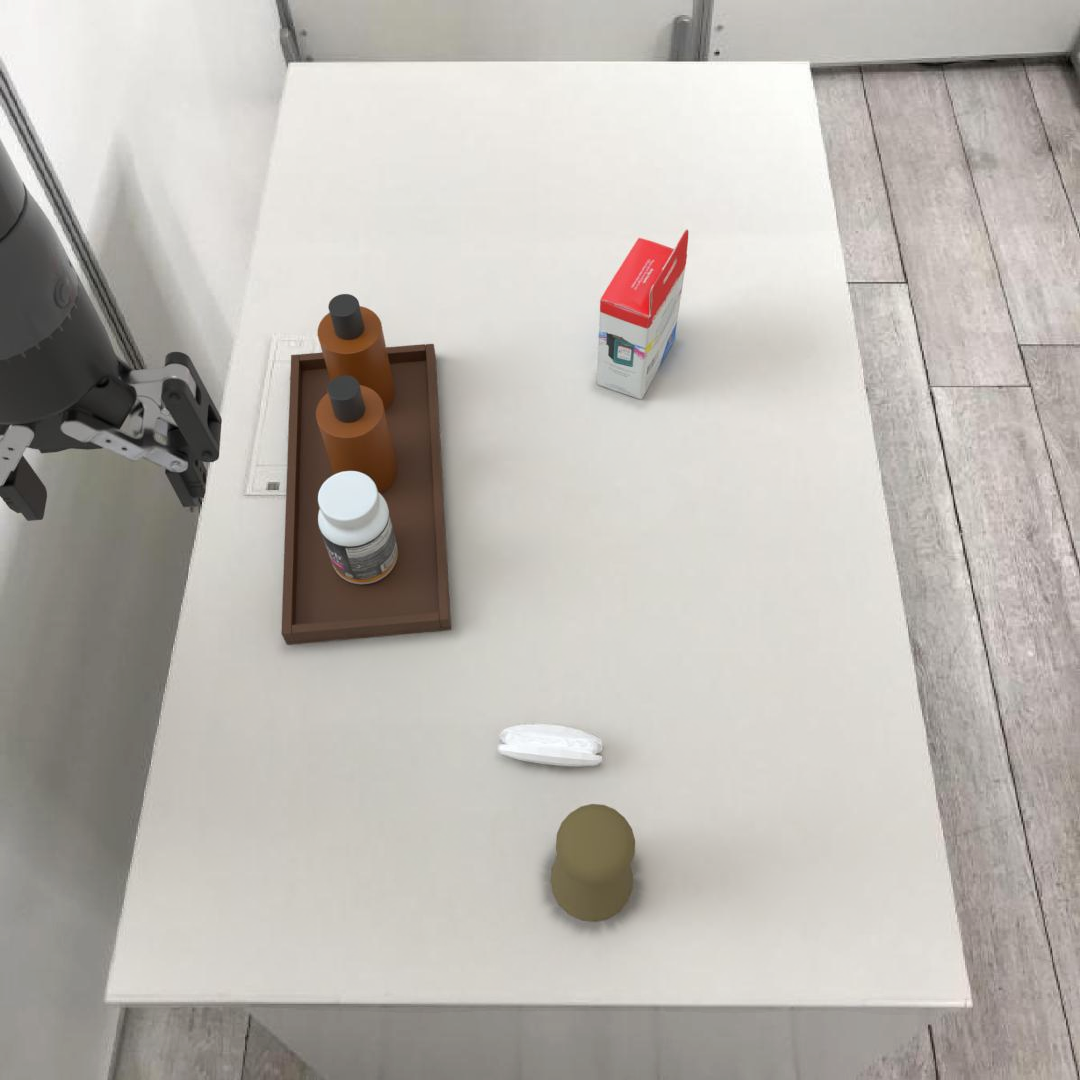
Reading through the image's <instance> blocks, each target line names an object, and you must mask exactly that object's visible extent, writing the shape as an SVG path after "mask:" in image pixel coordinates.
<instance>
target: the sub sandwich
mask: <svg viewBox="0 0 1080 1080" xmlns="http://www.w3.org/2000/svg"><path fill="white" fill-rule="evenodd" d="M499 738H500V741H501V742H502V743H503V744H502V743H501V744H498V745H497V751H498V753H500V754H501V755H502V756H505V757H508V758H511V759H515V760H518V761H523V762H529V763H535V764H541V765H548V766H558V767H577V768H578V767H579V768H581V767H592V766H593V767H594V766H598V765H600V764H601V763H602V761H603V756H602V755H599V753H601V752H602V750H603V748H604V747H603V746H604V745H603V742H602V740H601V739H600V738H599V737H598V736H595V735H593V733H592V734H591V733H590V732H587V731H585V730H584V729H583V730H582V729H579V728H574V727H571V726H568V725H564V724H563V725H562V724H551V723H520V724H516V725H511V726H507V727H505V728H504V729H503V730H502V731H501V732H500V735H499Z"/></svg>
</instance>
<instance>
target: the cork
mask: <svg viewBox="0 0 1080 1080" xmlns="http://www.w3.org/2000/svg"><path fill="white" fill-rule="evenodd" d="M555 841H556V842H555V850H556V857H555V859H554V862H553V864H552V866H551V871H550V880H549V881H550V885H551V890H552V894H553V897H554V898H555V900H556V901H557V903H558V905H559V906H560V908H561V909H562V910H564V911H565V913H567V914H568V915H569V916H571V917H573V918H576V919H578V920H580V921H584V922H595V923H597V922H601V921H603V920H609V919H610V918H612V917H614V916H615V915H617V914H618V913H620V912H621V911H622V909H623V908H624V907H625V905H627V903H628V902H629V900H630V897H631V894H632V891H633V884H634V874H633V871H632V867H631V864H632V861H633V860H634V857H635V854H636V853H635V852H636V839H635V835H634V831H633V828H632V826H631V825H630V824H629V822H628V820H627V818H626V817H625V816H623V815H622V814H621V813H620V812H619V811H618V810H617V809H615V808H613V807H610V806H608V805H605V804H599V803H591V804H586V805H582V806H581V805H580V806H579V807H577V808H576V809H574V810H573V811H571V812H570V813H568V814H567V816H566V817H565V818H564V819H563V821H561V823H560V826H559V828H558V831H557V833H556V840H555Z"/></svg>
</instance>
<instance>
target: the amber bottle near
mask: <svg viewBox="0 0 1080 1080" xmlns="http://www.w3.org/2000/svg"><path fill="white" fill-rule="evenodd" d="M327 390H328V393H327V394H326V395H325V396H324V397H323V398H322V399H321V400H320V402H319V404H318V406H317V410H316V419H317V422H318V426H319V429H320V432H321V435H322V438H323V441H324V444H325V448H326V451H327V454H328V457H329V460H330V463H331V466H332V470H333V473H334V475H335V474H337V473H340V472H344V471H357V472H361V473H363V474H365V475H367V476H368V477H370V478H371V479H372V480H373V482H374V483H375V485H376V487H377V490H378V492H379V493H380V494H381V493H383V492H385V491H386V490H387V489H388V488H389V487H390V486H391V485H392V484H393V482H394V481H395V478H396V476H397V464H396V459H395V455H394V451H393V446H392V442H391V437H390V433H389V428H388V424H387V419H386V415H385V411H384V406H383V402H382V400H381V398H380V396H379V395H378V394H377V393H376V392H375V391H373V390H372V389H370V388H368V387H366V386H362V385H359V382H358V381H357V380H356V379H355V378H354V377H352V376H347V375H343V376H338V377H336V378H334V379H333V380H332V381H331V382H330V383H329V385H328V389H327Z"/></svg>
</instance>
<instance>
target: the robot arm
mask: <svg viewBox="0 0 1080 1080" xmlns="http://www.w3.org/2000/svg"><path fill="white" fill-rule="evenodd" d="M66 251H67V250H66V249H65V247H64V245H63V243H62V241H61V239H60V237H59V236H58V233H57V232H56V229H55V228H54V226H53V224H52V223H51V220H50V219H49V218H48V216H47V215H46V213H45V212H44V210H43V208H42V207H41V206H40V205H39V203H38V202H37V201H36V199H35V198H34V196H33V195H32V194H31V193H30V191H29V189H28V188H27V186H26V184H25V183H24V181H23V179H22V178H21V176H20V173H19V171H18V170H17V168H16V166H15V164H14V162H13V160H12V158H11V156H10V154H9V152H8V150H7V149H6V147H5V144H4V143H3V140H2V139H1V138H0V498H1V499H2V501H3V502H4V503H5V505H6V506H7V507H8V508H9V509H10V510H11V511H13V512H15V513H16V514H21V515H22V516H23V517H24V519H25V520H26V521H28V522H32V521H33V522H34V521H42V520H43V519H44V517H45V512H46V506H47V500H48V490H47V487H46V486H45V484H44V483H43V482H42V479H41V478H40V477H39V476H38V474H37V473H36V471H35V470H34V468H33V467H32V465H31V464H30V463H29V461H28V460H27V459H26V458H25V456H24V453H25V452H26V449H27V448H28V449H32V450H38V451H39V452H40V454H51V453H53V454H54V453H58V452H62V451H63V452H64V451H66V450H71V449H74V450H85V451H89V450H99V449H102V450H103V449H105V450H107V451H109V452H111V453H113V454H116V455H118V456H120V457H123V458H125V460H128V461H130V462H137V461H140V460H141V459H144V460H146V461H148V462H151V464H154V465H157V466H159V467H161V468H163V469H164V474H165V476H166V478H167V479H168V481H169V483H170V485H171V487H172V489H173V491H174V493H175V494H176V496H177V498H178V500H179V502H180V504H181V506H182V507H183V508H194V507H198V505H199V499H200V498H205V496H206V495H205V494H206V487H207V475H208V471H207V469H206V466H205V464H204V463H213V462H216V461H218V460H219V458H220V449H221V448H220V447H221V437H222V436H221V433H222V424H223V423H222V422H223V420H222V419H223V418H222V416H221V414H220V413H219V411H218V408H217V407H216V405H215V403H214V401H213V399H212V398H211V395H210V394H209V391H208V390H207V388H206V385H205V384H204V382H203V380H202V378H201V377H200V374H199V373H198V370H197V369H196V367H195V365H194V363H193V361H192V358H191V357H190V356H189V355H187V354H186V353H184V352H181V351H171V352H168V353H167V354H166V355H165V357H164V366H160V367H159V366H158V367H151V368H143V369H142V368H141V369H134V368H133V367H132V365H130V364H128V363H127V362H125V361H124V360H123V359H121V358H120V357H119V356H118V355H117V354H116V352H115V349H114V347H113V344H112V340H111V339H110V336H109V334H108V331H107V329H106V327H105V325H104V323H103V321H102V319H101V317H100V315H99V313H98V312H97V310H96V308H95V305H94V304H93V302H92V300H91V298H90V296H89V294H88V292H87V290H86V288H85V286H84V284H83V282H82V280H81V279H80V276H79V274H78V272H77V270H76V268H75V267H74V264H73V263H72V261H71V259H70V258H69V255H68V253H67V252H66ZM128 416H129V419H130V421H129V429H128V433H127V432H125V431H123V430H121V428H122V426H123V425H124V424H125V421H126V420H127V418H128ZM155 434H158V435H160V436H161V437H164V438H166V439H165V443H163V442H161V441H159V440H158V439H157V438H156V435H155Z"/></svg>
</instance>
